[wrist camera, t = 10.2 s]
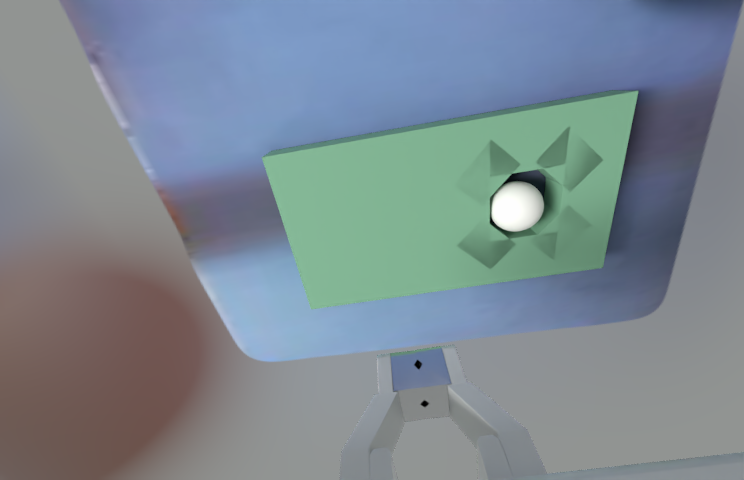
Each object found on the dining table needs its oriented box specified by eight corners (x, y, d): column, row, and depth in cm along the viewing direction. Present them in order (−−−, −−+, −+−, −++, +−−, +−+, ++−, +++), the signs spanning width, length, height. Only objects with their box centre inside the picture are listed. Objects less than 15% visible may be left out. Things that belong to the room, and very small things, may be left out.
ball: (477, 184, 25) (515, 197, 21) (516, 170, 26) (558, 180, 22) (478, 228, 27) (514, 246, 23) (515, 213, 28) (554, 229, 24)
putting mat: (271, 150, 24) (261, 157, 22) (611, 90, 23) (638, 90, 20) (315, 292, 30) (311, 309, 28) (584, 253, 29) (602, 267, 27)
